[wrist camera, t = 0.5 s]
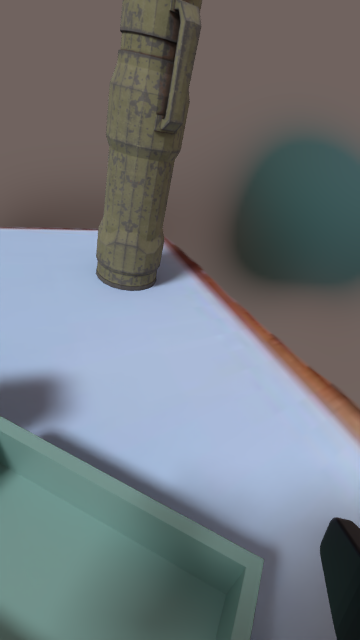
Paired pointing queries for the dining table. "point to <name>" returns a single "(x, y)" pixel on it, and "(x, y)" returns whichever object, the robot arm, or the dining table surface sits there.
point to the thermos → (145, 135)
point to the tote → (109, 557)
